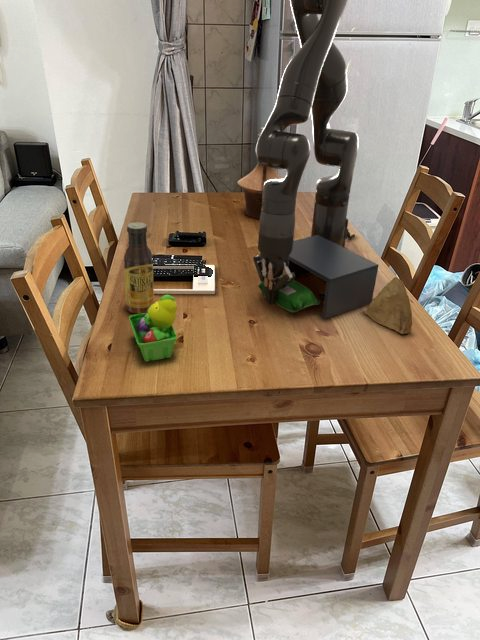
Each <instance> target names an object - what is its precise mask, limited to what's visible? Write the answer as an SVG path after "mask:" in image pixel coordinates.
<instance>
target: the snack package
mask: <svg viewBox="0 0 480 640" xmlns="http://www.w3.org/2000/svg"><path fill="white" fill-rule="evenodd" d="M257 287H258V288H259V289H260V292H261V293H262V295H263V296H264V297H265V290H266V287H265V286H264V282H263V281H262V282H261V281H260V283H259V284H258V285H257ZM320 303H321V300H320V299H318V298H317V297H316V296H315V294H314V292H313V291H312V290H311V289H310V288H308V287H307V286H305V285H304V284H302V283H300V282H298V281H297V280H295V279H293V280H292V281H291V282H290V283H289V284H288V285H287V286H286V287H285V288H283V289H280V290H278V298H277V301H276V302H275V303H274V304H276V305H277V306H279V307H280V308H281V309H284V310H285V311H287V312H289V313H290V314H291V313H292V314H294V313H296V312H299V311H301V310H304V309H306V308H309V307H312V306H316V305H317V307H319V306H320Z"/></svg>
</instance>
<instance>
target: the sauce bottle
mask: <svg viewBox="0 0 480 640" xmlns="http://www.w3.org/2000/svg"><path fill="white" fill-rule="evenodd" d="M126 232H127V233H128V246H127V248H126V249H125V253H124V255H123V263H124V264H123V265H124V266H123V271H124V272H123V273H124V291H125V304H126V309H127V311H128V312H129V313H132V314H142V313H148V309H149V307H150V306H151V305H152V304H154V303H155V294H154V289H155V288H154V269H153V264H154V262H153V254H152V250H151V249H150V247H149V246H148V242H147V232H148V226H147V224H146V223H144V222H140V221H138V222H136V221H135V222H130V223H128V224H127V225H126Z"/></svg>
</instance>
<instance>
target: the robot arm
mask: <svg viewBox="0 0 480 640" xmlns="http://www.w3.org/2000/svg"><path fill="white" fill-rule="evenodd" d="M289 3H290V7H291V12H292V15H293V20H294V23H295V27H296V32H297V37H298V40H299V45H300V48H299V49H298V50H297V51H296V53H295V54H294V56H293V57H292V58H291V59H290V61H289V62H288V64H287V65H286V68H285V69H284V71H283V74H282V77H281V80H280V85H279V89H278V92H277V97H276V102H275V105H274V108H273V110H272V112H271V114H270V116H269V117H268V120H267V122H266V124H265V126H264V129H263V131H262V130H261V135H260V137H258V139H257V143H256V146H255V156H256V159H257V162H258V163H260V164H261V165H262V166H265V167H269V168H274V169H275V170H283V171H287V172H286V175H285V177H281V178H282V179H272V180H268V181H266V182H265V184H264V186H263V194H262V209H261V215H260V218H259V224H258V239H257V240H258V241H257V250H258V251H259V255H256V256H253V258H252V260H253V263H254V266H255V269H256V272H257V275H258V278H259V281H260V283H261V282H262V281H263V282H264V286H265V287H266V290H265V296H264V300H265V301H264V302H266V303H268V304H269V305H271V304H276V303H275V302H276V301H277V298H278V290H280V289H283V288H285V287H286V286H287V285H288V284H289V283H290V282H291V281H292V280H295V278H296V277H295V273H291V272H290V270H289V268H288V267H289V261H288V256H289V255H290V253H291V252H292V249H293V241H294V239H295V229H296V227H295V226H296V204H297V195H298V190H299V186H300V182H301V180H302V176H303V174H304V171H305V169H306V166H307V164H308V161H309V158H310V155H311V144H310V141H309V139H308V137H307V136H306V135H304V134H302V133H296V132H295V133H294V132H289V131H285V130H286V129H287V128H288V127H291V126H294V125H301V124H305V123H306V122H307V121H308V120H309V118H310V116H311V125H312V141H313V142H312V143H313V154H314V158H315V161H316V162H317V164H319V165H323V166H327V167H334V168H339V170H338V173H335V174H333V175H327V176H324V177H321V178H319V179H318V180H317V181H316V188H315V195H314V205H313V215H312V216H313V217H312V224H311V232H310V237H311V236H315V235H319V236H321V237H323V238H325V239H327V240H329V241H331V242H333V243H335V244H337V245H339V246H341V247H344V248H346V247H345V246H346V240H347V239H349V240H351V239H353V238H355V237H356V234H352V235H351V232H349V228H348V226H349V218H348V217H347V215H348V208H349V202H350V196H351V195H350V194H351V189H352V188H351V187H352V184H353V178H354V171H355V166H356V162H357V157H358V151H359V143H360V141H359V140H360V139H359V135H358V133H357V132H356V131H352V130H344V129H336V128H335V129H334V128H331V125H330V120H331V119H332V117H333V116H334V114H335V113H336V112H337V111H338V109H339V108H340V106H341V104H342V103H343V102H344V100H345V98H346V96H347V93H348V85H349V84H348V72H347V64H346V60H345V57H344V56H343V54H342V52H341V51H340V49H339V48H338V47H337V45H336V44H335V43H334V42H333V41H334V38H335V37H336V34H337V30H338V28H339V26H340V23H341V20H342V17H343V15H344V12H345V10H346V7H347V3H348V0H289ZM319 15H320V18H319Z"/></svg>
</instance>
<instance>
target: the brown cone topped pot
mask: <svg viewBox="0 0 480 640" xmlns="http://www.w3.org/2000/svg"><path fill="white" fill-rule="evenodd" d="M264 127H265V126H264ZM264 127H263V126H261V127H260V130H261V133H262V131H263V129H264ZM261 133H258V135H257V137H258V138H259V137H260V135H261ZM282 178H283V177H282V176H280V174H279V173H278V172H277V169H276V168H269V167H265V166H262V165H261V164H260V163H259V162H258V163H257V164H256V166H255V167H254V168H253V170H252V171H250V172H249V173H248V174H247V175H245V176H243V177H242V178H240V179H239V180H238V181H237V185H238V186H239V187H241V188H242V189H243V192H244V200H245V214H246V215H247V216H248V217H252V218H257V219H260V215H261V209H262V194H263V186H264V184H265V182H266V181H268V180H272V179H282Z"/></svg>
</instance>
